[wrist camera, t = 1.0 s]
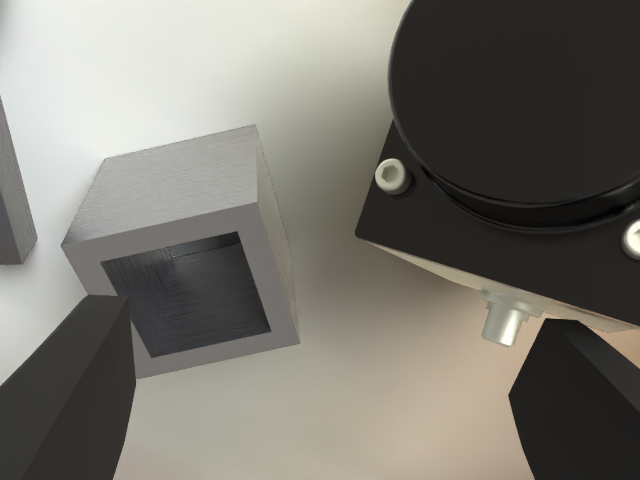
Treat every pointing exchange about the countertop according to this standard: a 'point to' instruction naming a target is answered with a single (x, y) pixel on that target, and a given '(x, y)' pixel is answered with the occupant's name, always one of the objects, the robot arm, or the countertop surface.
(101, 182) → the hollow square tube
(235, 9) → the countertop surface
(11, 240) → the ratchet
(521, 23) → the pneumatic valve
